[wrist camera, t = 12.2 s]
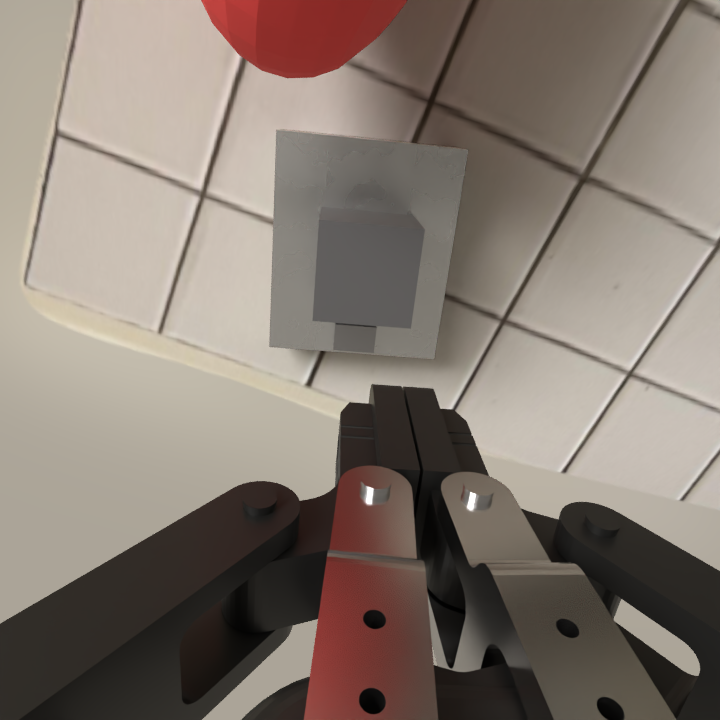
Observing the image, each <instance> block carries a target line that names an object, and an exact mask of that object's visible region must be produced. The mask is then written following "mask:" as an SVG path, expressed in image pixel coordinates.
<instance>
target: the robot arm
mask: <svg viewBox="0 0 720 720" xmlns="http://www.w3.org/2000/svg"><path fill="white" fill-rule="evenodd" d="M621 599H623V600H624V601H626V602H627V603H629V604H630V605H632V606H633V607H634V608H636V609H637V610H639V611H640V612H642V613H643V614H645V615H646V616H647V617H649V618H650V619H652V620H653V621H655V622H656V623H658V624H659V625H661V626H662V627H663V628H665V629H666V630H668V631H669V632H671V633H672V634H674V635H675V636H677V637H678V638H680V639H681V640H682V641H684V642H685V643H686V644H687V645H689V647H690V648H691V649H692V650H693V651H694V653H695V654H696V656H697V658H698V660H699V663H700V673H699V676H694V675H690V674H688V673H686V672H684V671H682V670H681V669H680V668H678V667H677V666H675V665H674V664H673V663H671V662H670V661H668V660H667V659H666V658H664V657H663V656H662V655H660V654H659V653H657V652H656V651H655V650H653V649H652V648H650V647H649V646H648V645H646V644H645V643H644V642H642V641H641V640H639V639H638V638H637V637H635V636H634V635H633V634H631V633H630V632H628V631H627V630H626V629H624V628H623V627H621V626H620V625H619V624H617V623H616V622H615V621H614V616H615V613H616V611H617V608H618V606H619V603H620V601H621ZM315 619H318V624H317V631H316V638H315V645H314V652H313V659H312V666H311V674H310V677H307V678H304V679H301V680H298V681H296V682H293V683H291V684H289V685H288V686H286V687H284V688H282V689H280V690H278V691H277V692H275V693H273V694H272V695H270V696H269V697H267V698H266V699H264V700H263V701H262V702H261V703H259V704H258V705H257V706H256V707H255V708H253V709H252V710H251V711H250V712H249V713H248V714H247V715H246V716H245V717H244V718H243V719H242V720H720V571H719V570H717V569H715V568H713V567H712V566H710V565H708V564H706V563H705V562H703V561H701V560H699V559H698V558H696V557H694V556H692V555H691V554H689V553H687V552H686V551H684V550H682V549H680V548H679V547H677V546H675V545H673V544H672V543H670V542H668V541H667V540H665V539H663V538H661V537H660V536H658V535H656V534H654V533H653V532H651V531H649V530H648V529H646V528H644V527H642V526H641V525H639V524H637V523H635V522H634V521H632V520H630V519H628V518H627V517H625V516H623V515H621V514H620V513H618V512H616V511H614V510H612V509H610V508H607V507H605V506H602V505H599V504H595V503H589V502H575V503H571V504H568V505H566V506H565V507H564V508H563V509H562V511H561V513H560V516H559V520H558V519H554V518H550V517H547V516H543V515H540V514H536V513H532V512H529V511H526V510H524V509H521V508H520V506H519V505H518V503H517V501H516V500H515V498H514V496H513V494H512V493H511V491H510V490H509V489H508V488H507V487H506V486H505V485H504V484H502V483H501V482H499V481H498V480H496V479H494V478H492V477H490V476H489V475H488V472H487V470H486V468H485V465H484V463H483V461H482V458H481V455H480V453H479V451H478V448H477V446H476V443H475V441H474V438H473V436H471V431H470V429H469V426H468V424H467V422H466V420H464V419H463V418H462V417H461V416H460V415H459V414H458V413H457V412H455V411H454V410H450V409H440V407H439V404H438V401H437V398H436V395H435V392H434V390H433V389H430V388H417V387H403V388H402V387H401V386H388V385H375V384H372V385H371V389H370V397H369V404H365V403H351V402H349V404H348V405H347V406H346V407H345V408H344V409H343V410H342V412H341V415H340V426H339V437H338V448H337V458H336V481H335V487H334V488H333V489H332V490H331V491H330V492H328V493H326V494H325V495H322V496H320V497H317V498H313V499H309V500H303V501H299V499H298V497H297V495H296V494H295V493H294V492H293V491H292V490H290V489H289V488H287V487H285V486H283V485H281V484H278V483H273V482H266V481H256V482H249V483H245V484H242V485H239V486H237V487H235V488H233V489H231V490H229V491H228V492H226V493H224V494H222V495H221V496H219V497H217V498H215V499H214V500H212V501H210V502H209V503H207V504H205V505H203V506H202V507H200V508H199V509H196V510H195V511H193V512H191V513H190V514H188V515H186V516H184V517H183V518H181V519H179V520H178V521H176V522H174V523H172V524H171V525H169V526H167V527H166V528H164V529H162V530H161V531H159V532H157V533H155V534H154V535H152V536H150V537H148V538H147V539H145V540H143V541H141V542H140V543H138V544H136V545H135V546H133V547H131V548H129V549H128V550H126V551H124V552H123V553H121V554H119V555H117V556H116V557H114V558H112V559H111V560H109V561H107V562H105V563H104V564H102V565H100V566H99V567H97V568H95V569H93V570H92V571H90V572H88V573H87V574H85V575H83V576H81V577H80V578H78V579H76V580H74V581H73V582H71V583H69V584H68V585H66V586H64V587H63V588H61V589H59V590H57V591H56V592H54V593H52V594H50V595H49V596H47V597H45V598H44V599H42V600H40V601H38V602H37V603H35V604H33V605H32V606H30V607H28V608H26V609H25V610H23V611H21V612H19V613H18V614H16V615H14V616H13V617H11V618H9V619H7V620H6V621H4V622H2V623H1V624H0V720H202V719H203V718H204V717H205V716H206V715H207V714H208V713H209V712H210V711H211V710H212V709H213V708H214V707H216V706H217V705H218V704H219V703H220V702H221V701H222V700H223V699H224V698H225V697H226V696H227V695H228V694H229V693H230V692H231V691H232V690H233V689H235V687H237V686H238V685H239V684H240V683H241V682H242V681H243V680H244V679H245V678H246V677H247V676H248V675H249V674H250V673H251V672H252V671H253V670H254V669H256V667H258V666H259V665H260V664H261V663H262V661H264V660H265V659H266V658H267V657H268V656H269V655H270V654H271V653H272V652H273V651H275V650H276V649H277V648H278V647H279V646H280V645H281V644H282V643H283V642H284V641H285V640H286V638H287V637H288V636H289V634H290V632H291V629H292V625H296V624H300V623H304V622H308V621H312V620H315ZM432 646H433V650H434V654H435V658H436V662H437V666H435V665H433V652H432Z"/></svg>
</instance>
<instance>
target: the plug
mask: <svg viewBox="0 0 720 720" xmlns="http://www.w3.org/2000/svg"><path fill="white" fill-rule="evenodd" d="M424 233H425V229H424V228H423V226H422V225H421V224H420V223H419V222H418V220H417V219H416V218H415V217H414V216H413V215H407V214H396V213H386V212H375V211H364V210H354V209H343V208H332V207H321V212H320V217H319V227H318V242H317V258H316V273H315V289H314V304H313V320H312V321H319V322H332V323H344V324H357V325H370V326H383V327H396V328H408V329H411V324H412V317H413V310H414V303H415V296H416V289H417V282H418V275H419V268H420V261H421V254H422V247H423V240H424Z"/></svg>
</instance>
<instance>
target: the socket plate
mask: <svg viewBox="0 0 720 720" xmlns="http://www.w3.org/2000/svg"><path fill="white" fill-rule="evenodd" d="M467 156H468V149H462V148H457V147H449V146H439V145H429V144H420V143H410V142H400V141H391V140H381V139H371V138H362V137H352V136H343V135H333V134H323V133H314V132H304V131H294V130H285V129H280V130H276V159H275V190H274V221H273V252H272V283H271V314H270V345H269V347H277V348H290V349H304V350H317V351H330V352H344V353H357V354H370V355H384V356H397V357H411V358H424V359H434V357H435V351H436V345H437V339H438V333H439V327H440V321H441V314H442V308H443V302H444V296H445V290H446V284H447V278H448V272H449V266H450V260H451V254H452V247H453V241H454V235H455V229H456V223H457V217H458V211H459V205H460V199H461V193H462V187H463V181H464V174H465V168H466V162H467ZM321 207H332V208H343V209H354V210H364V211H375V212H386V213H396V214H407V215H413V216H414V217H415V218H416V219H417V220H418V222H419V223H420V224H421V225H422V226H423V228H424V229H425V233H424V240H423V247H422V254H421V261H420V268H419V275H418V282H417V289H416V296H415V303H414V310H413V317H412V324H411V329H408V328H396V327H383V326H370V325H357V324H344V323H332V322H319V321H312V320H313V304H314V289H315V273H316V258H317V242H318V227H319V217H320V212H321Z"/></svg>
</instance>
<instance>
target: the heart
mask: <svg viewBox="0 0 720 720" xmlns="http://www.w3.org/2000/svg"><path fill="white" fill-rule="evenodd" d="M201 1H202V3H203V5H204V7H205V9H206V11H207V13H208V15H209V17H210V19H211V21H212V23H213V24H214V26H215V27H216V28H217V29H218V30H219V31H220V33H221V34H222V35H223V36H224V37H225V39H226V40H227V41H228V42H229V43H230V44H231V46H232V47H233V48H234V49H235V50H236V52H237V53H238V54H239V55H240V56H242V57H243V58H244V59H246V60H247V61H249V62H250V63H252V64H253V65H255V66H256V67H257V68H259V69H260V70H262V71H265V72H268V73H272V74H275V75H278V76H282V77H285V78H308V77H316V76H318V75H321V74H324V73H327V72H330V71H333V70H335V69H338V68H340V67H341V66H342V65H343V64H345V63H346V62H347V61H349V60H350V59H351V58H352V57H354V56H355V55H356V54H357V53H359V52H360V51H361V50H362V49H364V48H365V47H366V46H368V45H369V44H370V43H371V42H373V41H374V40H375V39H376V38H377V37H378V36H379V35H380V34H381V33H382V32H383V31H384V30H385V28H386V27H387V26H388V25H389V24H390V23H391V21H392V20H393V19H394V18H395V16H396V15H397V14H398V13H399V11H400V10H401V9H402V8H403V6H404V5H405V3H406V2H407V0H201Z"/></svg>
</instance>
